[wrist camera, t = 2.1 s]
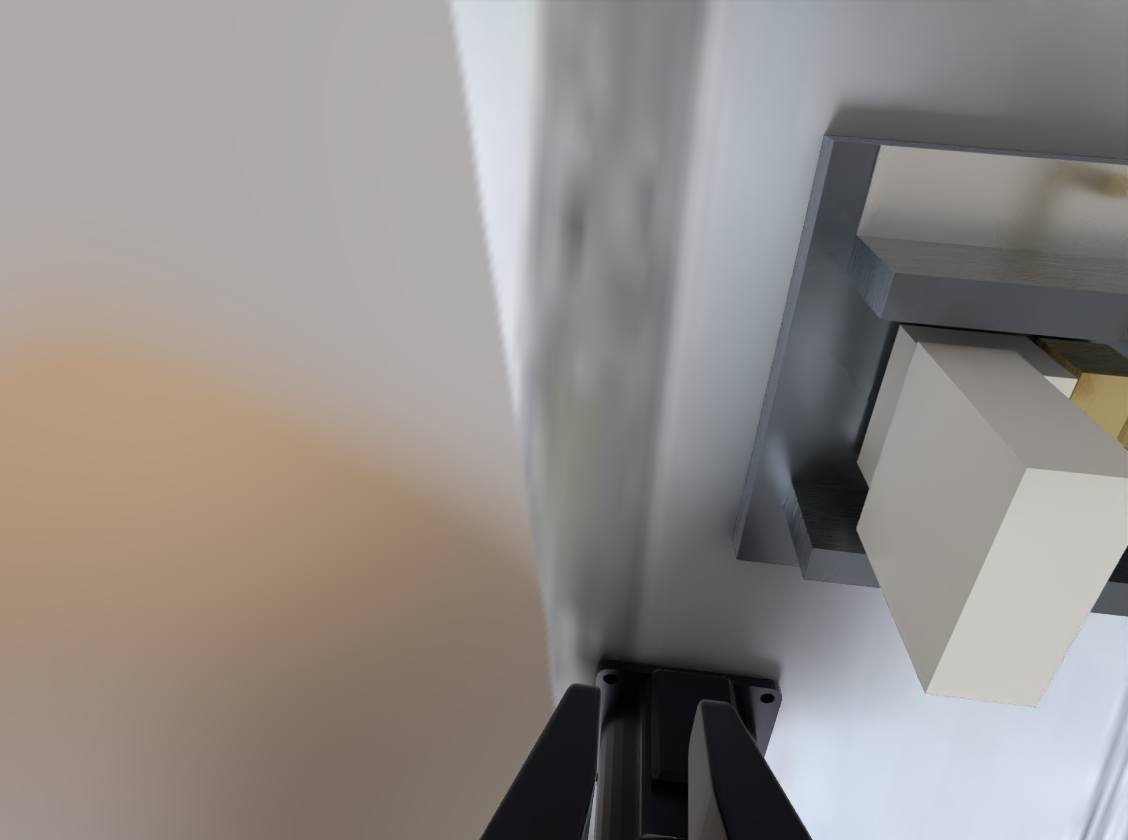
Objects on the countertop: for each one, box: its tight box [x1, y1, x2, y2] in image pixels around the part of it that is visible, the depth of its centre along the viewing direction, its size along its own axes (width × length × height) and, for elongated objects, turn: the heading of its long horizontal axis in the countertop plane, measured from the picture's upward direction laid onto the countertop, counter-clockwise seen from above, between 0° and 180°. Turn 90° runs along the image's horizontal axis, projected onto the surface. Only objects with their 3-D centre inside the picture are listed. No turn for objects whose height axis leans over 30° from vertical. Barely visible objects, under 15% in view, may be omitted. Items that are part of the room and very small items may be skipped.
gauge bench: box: [733, 135, 1128, 616], centre depth 17 cm, size 12×14×6 cm
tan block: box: [1036, 338, 1128, 449], centre depth 16 cm, size 8×2×4 cm, turn 176°
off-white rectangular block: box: [856, 325, 1128, 707], centre depth 15 cm, size 5×4×7 cm
